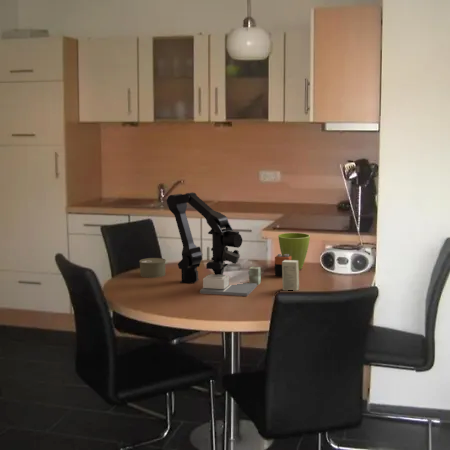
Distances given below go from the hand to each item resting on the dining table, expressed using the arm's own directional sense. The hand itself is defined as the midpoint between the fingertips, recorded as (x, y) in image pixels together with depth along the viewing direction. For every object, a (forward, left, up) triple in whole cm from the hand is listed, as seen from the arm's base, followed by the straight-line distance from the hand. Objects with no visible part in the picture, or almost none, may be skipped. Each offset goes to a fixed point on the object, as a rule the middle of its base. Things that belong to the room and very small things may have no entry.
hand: (219, 281), depth 285 cm
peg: (+13, +10, -3) cm, 16 cm away
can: (-37, +15, -3) cm, 40 cm away
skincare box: (+30, +3, -3) cm, 30 cm away
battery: (+22, +27, -3) cm, 35 cm away
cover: (0, -5, -1) cm, 5 cm away
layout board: (+5, -3, -2) cm, 7 cm away
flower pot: (+24, +43, -3) cm, 49 cm away
